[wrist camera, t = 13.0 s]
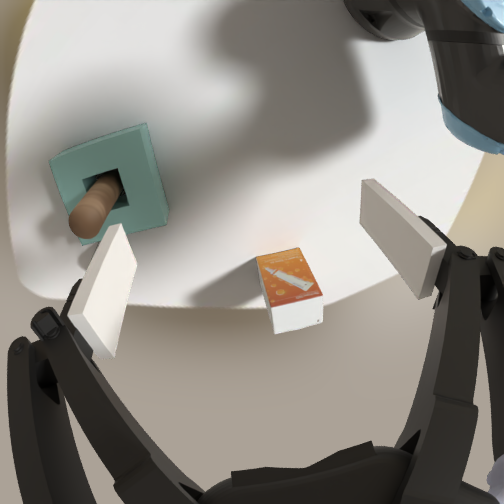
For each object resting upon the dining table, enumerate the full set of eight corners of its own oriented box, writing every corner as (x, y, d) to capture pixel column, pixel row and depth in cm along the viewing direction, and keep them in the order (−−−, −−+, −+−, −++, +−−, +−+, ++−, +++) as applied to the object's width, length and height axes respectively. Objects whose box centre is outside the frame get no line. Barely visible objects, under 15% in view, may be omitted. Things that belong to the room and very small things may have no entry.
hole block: (62, 151, 36) (48, 161, 31) (146, 122, 36) (139, 128, 32) (91, 229, 44) (82, 245, 39) (169, 209, 44) (166, 225, 40)
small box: (299, 246, 52) (324, 295, 42) (300, 273, 56) (323, 323, 45) (254, 255, 52) (270, 308, 41) (259, 283, 55) (274, 335, 45)
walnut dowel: (99, 171, 39) (63, 212, 27) (122, 163, 39) (92, 202, 27) (107, 194, 41) (76, 242, 29) (130, 187, 41) (105, 234, 30)
